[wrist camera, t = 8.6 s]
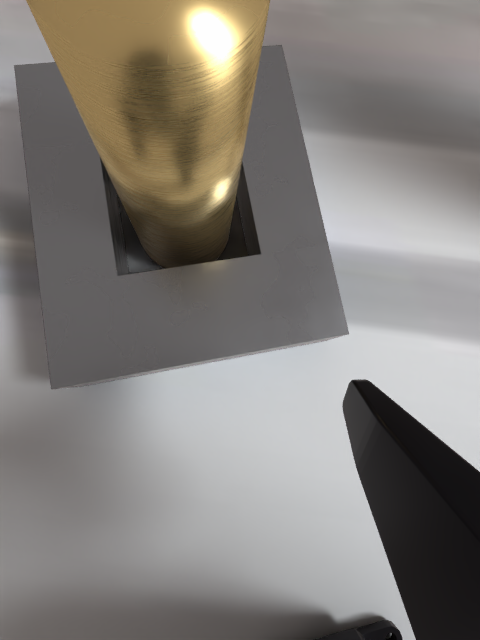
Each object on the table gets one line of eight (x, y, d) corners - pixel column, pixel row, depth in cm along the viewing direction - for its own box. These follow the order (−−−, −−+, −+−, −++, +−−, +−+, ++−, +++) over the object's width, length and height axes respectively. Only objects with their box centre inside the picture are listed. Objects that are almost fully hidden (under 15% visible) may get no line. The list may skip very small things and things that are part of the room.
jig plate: (325, 341, 18) (349, 334, 15) (78, 387, 16) (51, 389, 14) (270, 94, 20) (281, 45, 17) (44, 115, 18) (14, 65, 15)
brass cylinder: (237, 264, 18) (297, 54, 6) (145, 278, 18) (26, 76, 6) (220, 181, 19) (248, -151, 7) (131, 192, 18) (-1, -149, 6)
